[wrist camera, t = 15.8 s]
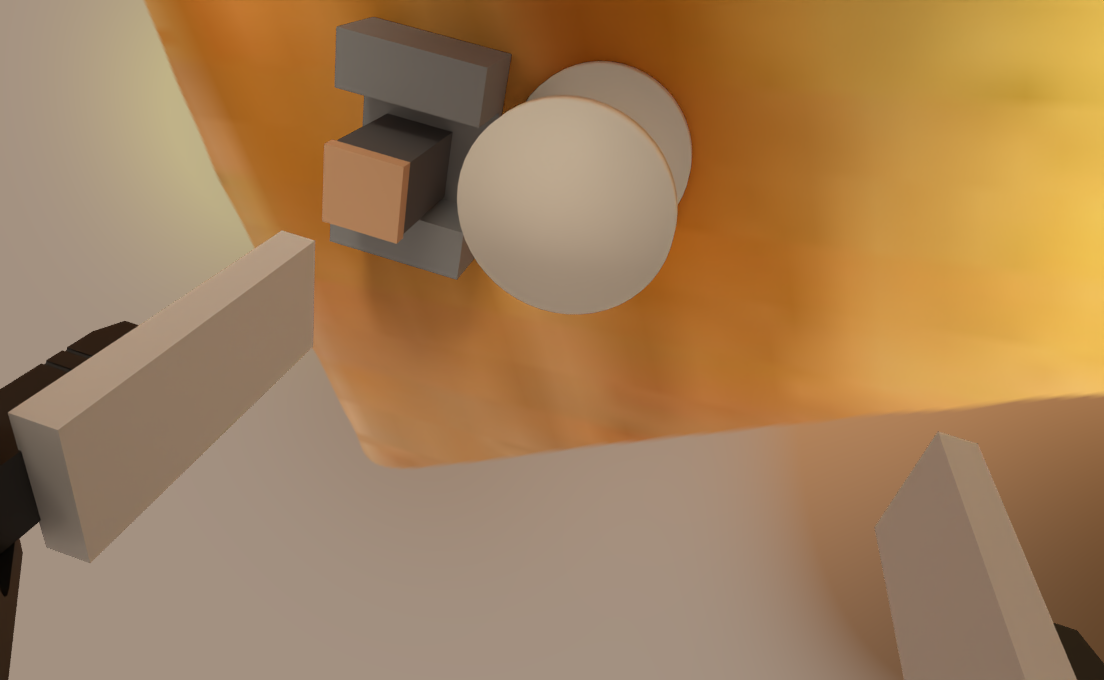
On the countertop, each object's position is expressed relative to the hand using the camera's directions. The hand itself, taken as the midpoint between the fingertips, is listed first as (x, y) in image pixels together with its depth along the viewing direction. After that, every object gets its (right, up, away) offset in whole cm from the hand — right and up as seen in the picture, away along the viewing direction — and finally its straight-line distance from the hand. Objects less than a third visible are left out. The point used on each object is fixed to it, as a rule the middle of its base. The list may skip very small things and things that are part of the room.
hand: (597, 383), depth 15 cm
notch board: (-8, +13, +27) cm, 31 cm away
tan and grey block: (-9, +12, +27) cm, 31 cm away
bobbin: (+2, +11, +25) cm, 27 cm away
